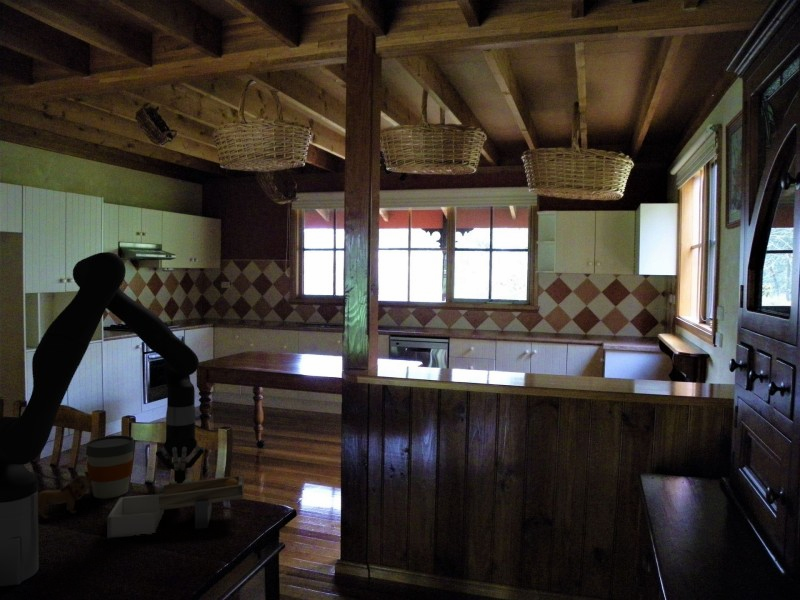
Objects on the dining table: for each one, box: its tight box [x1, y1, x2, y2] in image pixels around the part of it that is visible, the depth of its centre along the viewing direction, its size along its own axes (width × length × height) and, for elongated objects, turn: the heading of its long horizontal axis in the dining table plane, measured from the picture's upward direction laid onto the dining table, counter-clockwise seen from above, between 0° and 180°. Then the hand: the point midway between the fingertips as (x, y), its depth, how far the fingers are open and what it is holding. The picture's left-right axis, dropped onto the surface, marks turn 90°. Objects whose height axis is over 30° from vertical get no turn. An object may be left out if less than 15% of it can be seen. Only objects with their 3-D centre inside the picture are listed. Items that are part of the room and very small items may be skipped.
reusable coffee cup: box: [85, 435, 136, 499], centre depth 159 cm, size 13×13×15 cm
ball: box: [225, 478, 238, 486], centre depth 145 cm, size 3×3×3 cm
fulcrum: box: [194, 499, 213, 530], centre depth 143 cm, size 11×3×7 cm, turn 14°
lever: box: [159, 474, 245, 511], centre depth 147 cm, size 18×20×4 cm
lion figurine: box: [38, 474, 90, 520], centre depth 145 cm, size 15×5×9 cm, turn 131°
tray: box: [106, 493, 165, 539], centre depth 139 cm, size 13×11×5 cm
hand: (180, 482), depth 152 cm, fingers closed
